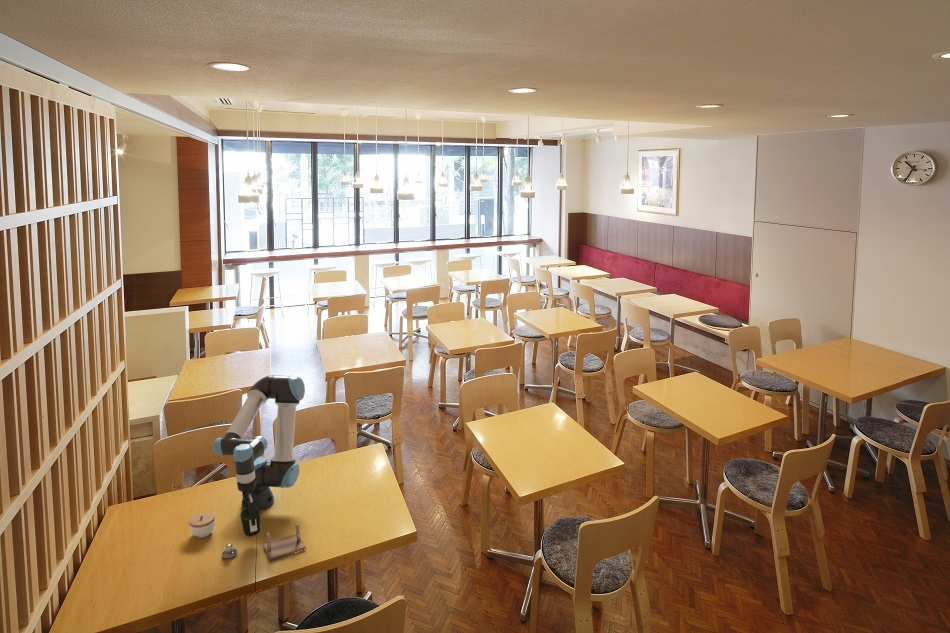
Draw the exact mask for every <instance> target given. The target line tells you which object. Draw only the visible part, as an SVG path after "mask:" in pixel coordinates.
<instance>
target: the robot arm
mask: <svg viewBox="0 0 950 633" xmlns="http://www.w3.org/2000/svg"><path fill="white" fill-rule="evenodd" d="M305 387H306V386H305V382H304V380H303V379H302V377H300V376H295V375H274V374H271V375H267V376H264V377H261V379H259V380H258V381H255V383H254V384H253V385H252V386H251V387H250V389H249V390H248V392H247V394H246V396H247V398H246V400H245V401H244V403H243V404H242V406H241V408H239V411H238V413H237V414H236V415H235V417H234V419H233V421H232V423H231V424H230V427H229V428H228V429H227V431H226V432H225V434H224V436H223V437H217V438H216V439H215V440H214V441H213V445H212V450H213V453H214V454H215V455H217V456H218V455H219V456H225V457H226V456H232V457H233V459H234V469H235V475H234V478H236V485H237V491H239V492H240V493H241V495H242V499H241V503H242V502H243V500H244V498H245V503H246V504H247V507H248V512H249V519H248V520H249V523H250V532H254V531H257V523H256V519H257V516H256V509H255V507H256V508H258V509H259V511H260V512H261V511H263V510H266V509H268V508H270V507H271V506H272V505H273V504H274V502H275V497H274V494H273V492H272V490H271V487H272V488H281V489H284V488H292V487H293V486H294V485H295V484H296V483H297V480H298V478H299V475H300V465H299V463H297V462H296V458H295V457H294V455H293V454H294V441H295V440H294V439H295V426H296V410H297V406H299V404H300V401H302V400H303V399H304V398H305V393H306V389H305ZM270 399H272V400H274V404H275V405H276V406H277V416H276V428H275V443H274V455H273V457H271V458H270V461H268V459H267V457H265V456H261V455H262V454H263V453H265V451H266V449H267V448H268V441H267V439H266V438H265V437H264V436H261V435H256V436H254V437H253V438H250V439H249V438H244V437H245V435H246V433H247V432H248V430H249V428H250V426H251V425H252V423H253V421H254V420H255V418H256V416H257V415H258V412H259V411H260V408H261V407H262V405H264V404H266V402H267V401H268V400H270ZM254 499H255V500H256V503H255V501H254ZM247 501H248V502H247ZM241 508H242V509H243V510H244V509H246V508H245V507H243V506H242V505H241Z"/></svg>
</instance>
